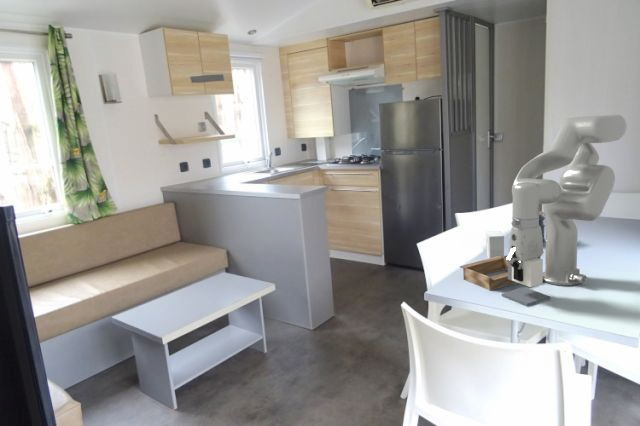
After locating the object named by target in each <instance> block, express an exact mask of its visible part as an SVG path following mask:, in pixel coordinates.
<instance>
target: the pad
mask: <svg viewBox="0 0 640 426" xmlns="http://www.w3.org/2000/svg"><path fill="white" fill-rule="evenodd" d="M501 296H502V297H503V298H506V299H508V300H511V301H513V302H515V303H517V304H520V305H523V306H525V307H528V306H531V305H535V304H538V303H540V302H544V301H547V300H551V296H550V295H547V294H544V293H542V292H539V291H537V290H534V289H531V288H530V287H529V288H528V287H527V286H523V287H518V288H516V289H513V290H509V291H506V292H503V293H501Z"/></svg>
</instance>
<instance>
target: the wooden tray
mask: <svg viewBox="0 0 640 426" xmlns="http://www.w3.org/2000/svg"><path fill="white" fill-rule="evenodd" d="M506 259H507V257H504V258H503V257H500V256H497V257H493V258H490V259H488V258H486V259H482V260H479V261H476V262H475V261H474V262H472V263H467V264H464V265H460V266H459V268H461V269H463V271H462V272H463V280H464V281H466V282H469V283H471V284H474V285H475V286H479V287H481V288H483V289H485V290H488V291H493V290H496V289H500V288H504V287H507V286H510V285H513V284H517V282H515V281H512V280H509V279H508V262H507V261H506ZM502 270H504V271H507V272H503V273H500V274H496V275H493V276H488V274H490V273H494V272H497V271H502Z"/></svg>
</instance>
